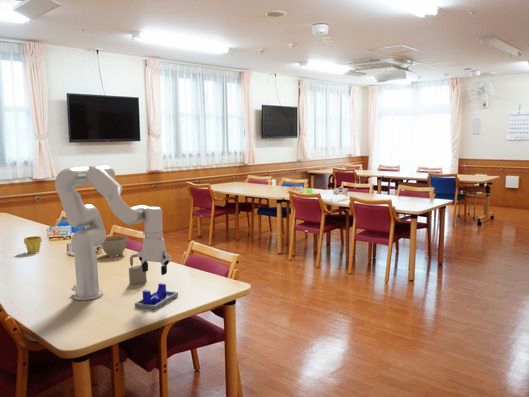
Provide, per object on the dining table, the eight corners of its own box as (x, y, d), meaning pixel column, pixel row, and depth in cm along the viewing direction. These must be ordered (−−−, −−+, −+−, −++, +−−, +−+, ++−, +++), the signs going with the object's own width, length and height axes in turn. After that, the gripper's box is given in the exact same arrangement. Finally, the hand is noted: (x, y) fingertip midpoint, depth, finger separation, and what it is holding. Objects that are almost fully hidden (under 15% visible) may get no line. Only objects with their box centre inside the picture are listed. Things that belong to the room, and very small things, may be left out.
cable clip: (151, 305, 194) (150, 292, 193) (143, 304, 196) (142, 291, 195) (168, 297, 204) (168, 284, 204) (161, 295, 206) (160, 283, 206)
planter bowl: (101, 253, 289) (100, 236, 288) (127, 251, 294) (126, 234, 292) (100, 259, 274) (99, 242, 272) (128, 257, 279) (127, 239, 277)
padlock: (128, 283, 226) (127, 254, 224) (143, 280, 232) (142, 251, 230) (132, 285, 223) (130, 256, 221) (147, 281, 229) (146, 253, 227)
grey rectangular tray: (134, 307, 194) (134, 303, 193) (159, 294, 210) (158, 289, 210) (154, 310, 190) (154, 306, 190) (177, 296, 207) (177, 292, 206)
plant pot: (45, 251, 295) (44, 237, 294) (30, 255, 286) (29, 240, 285) (36, 249, 301) (35, 235, 299) (21, 253, 292) (20, 238, 291)
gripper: (132, 235, 196) (133, 272, 198) (165, 238, 190) (166, 277, 192) (142, 231, 203) (143, 268, 205) (175, 235, 197) (176, 272, 199)
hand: (154, 272), depth 199 cm, fingers open, 9 cm apart
